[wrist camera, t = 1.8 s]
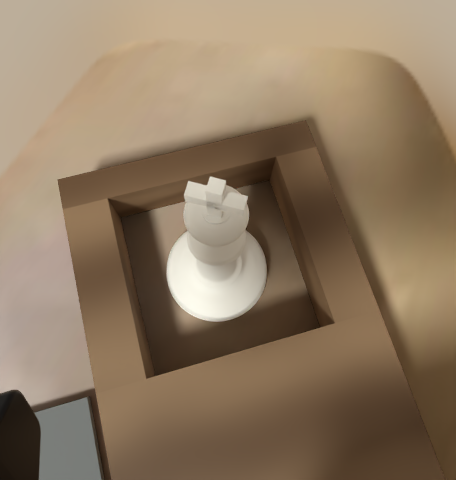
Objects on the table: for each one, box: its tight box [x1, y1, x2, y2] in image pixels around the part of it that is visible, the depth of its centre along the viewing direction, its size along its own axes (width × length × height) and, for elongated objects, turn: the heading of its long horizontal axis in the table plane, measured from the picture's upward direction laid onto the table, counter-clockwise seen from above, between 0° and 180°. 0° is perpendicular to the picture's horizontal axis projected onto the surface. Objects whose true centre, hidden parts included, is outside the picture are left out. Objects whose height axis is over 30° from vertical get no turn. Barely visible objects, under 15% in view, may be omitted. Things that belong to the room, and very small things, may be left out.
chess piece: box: [167, 177, 267, 322], centre depth 15 cm, size 5×5×10 cm
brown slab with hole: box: [58, 120, 445, 480], centre depth 18 cm, size 18×12×2 cm
